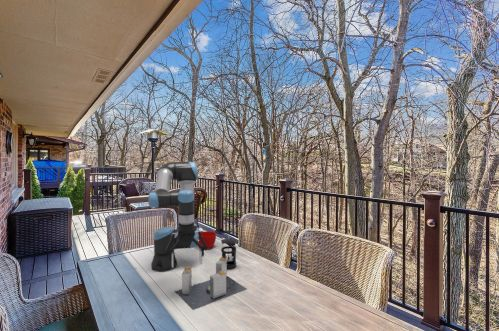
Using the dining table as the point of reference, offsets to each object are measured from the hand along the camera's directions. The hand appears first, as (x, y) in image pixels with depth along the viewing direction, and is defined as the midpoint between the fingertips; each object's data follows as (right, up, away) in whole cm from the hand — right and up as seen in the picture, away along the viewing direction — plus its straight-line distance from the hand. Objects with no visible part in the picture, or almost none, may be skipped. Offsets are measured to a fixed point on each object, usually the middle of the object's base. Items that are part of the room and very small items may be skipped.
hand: (186, 264), depth 138 cm
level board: (+12, -15, +1) cm, 19 cm away
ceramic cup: (-2, -11, +65) cm, 66 cm away
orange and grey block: (0, -13, 0) cm, 13 cm away
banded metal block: (+16, -14, -4) cm, 21 cm away
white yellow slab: (+16, -13, +13) cm, 24 cm away
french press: (+19, -13, +30) cm, 38 cm away
